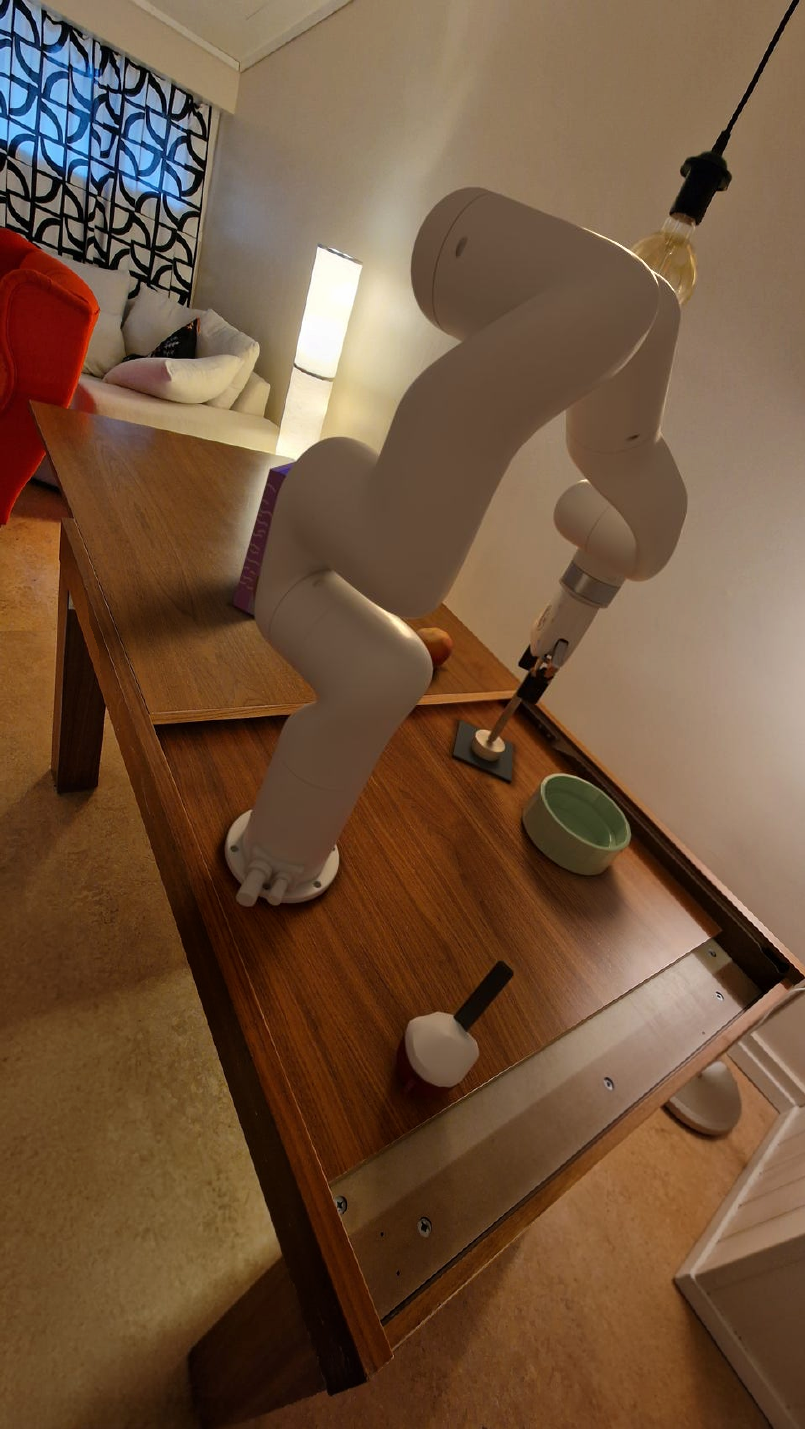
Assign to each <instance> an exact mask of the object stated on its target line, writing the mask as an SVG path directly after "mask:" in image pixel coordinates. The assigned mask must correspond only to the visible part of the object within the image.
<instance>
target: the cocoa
mask: <svg viewBox="0 0 805 1429" xmlns="http://www.w3.org/2000/svg"><path fill="white" fill-rule="evenodd" d="M514 976H515V972H514V970H513V969H512V968H511V967H510V966H509V965H508V964H506V962H505V961H503V960H498V961H497V962H496V963H495V964H494V965H493V966H492V968H491V969H490V970H489V972H488V973H487V974H486V975H485V977H484V978H483V979H482V980H481V981H480V983H479V984H478V985H477V987H476V988H474V991H473V992H472V993H471V994H470V995H469V997H468V998H467V999H466V1000H465V1001H464V1003H463V1004H462V1005H461V1006H460V1007H459V1009H458V1010H457V1012H455V1014H451V1013H446V1012H441V1011H435V1012H432V1013H430V1014H427V1015H420V1016H416V1017H414V1018H413V1019H411V1020H409V1021H408V1023H407V1027H406V1028H405V1031H404V1032H403V1034H402V1037H401V1039H400V1041H399V1043H398V1046H397V1050H396V1068H397V1071H398V1073H399V1076H400V1078H401V1080H402V1082H403V1083H404V1084H403V1087H402V1088H401V1090H400V1091H399V1095H400V1097H402V1098H405V1096H406V1095H407V1094H408V1093H409V1092H410V1091H411V1092H412V1093H414V1094H416V1095H418V1096H421V1097H423V1098H425V1099H427V1098H439V1097H442V1096H444V1095H446V1094H448V1093H450V1092H451V1091H452V1090H453V1089H454V1088H456V1087H457V1086H458V1085H459V1084H461V1083H462V1082H463V1081H464V1079H465V1078H466V1076H467V1075H468V1073H469V1072H470V1070H471V1069H472V1067H473V1066H474V1065H475V1063H476V1062H477V1060H478V1058H479V1056H480V1049H479V1046H478V1042H477V1041H476V1038H474V1037H473V1036H472V1035H471V1034H470V1033H469V1030H471V1029H472V1027H473V1026H474V1024H475V1023H476V1022H477V1021H478V1020H479V1019H480V1017H481V1016H482V1015H483V1014H484V1012H485V1011H486V1010H487V1009H488V1008H489V1006H490V1005H491V1004H492V1003H493V1001H494V1000H495V999H496V998H497V996H498V995H499V994H500V993H501V992H502V991H503V989H504V988H505V987H506V986H507V985H508V983H509V982H510V981H511V980H512V979H513V977H514Z"/></svg>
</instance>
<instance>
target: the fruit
mask: <svg viewBox="0 0 805 1429" xmlns="http://www.w3.org/2000/svg"><path fill="white" fill-rule="evenodd" d="M414 632H415V633H416V634H417V636H418V637H419V638H420V639H421V640H422V642H423V643H424V645H425V646H426V648H427V650H428V652H429V654H430V657H431V660H432V666H433V670H434V669H436V668H438V667H440V668H441V669H443V667H442V665H444V663H445V662H446V661H448V660H449V658H450V656H451V655H452V652H453V641H452V638H451V636H450V635H449V633H448V632H446V631H444V630H442V629H440V628H438V627H428V628H427V627H426V628H420V629H418V630H417V631H414Z"/></svg>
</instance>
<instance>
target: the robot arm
mask: <svg viewBox="0 0 805 1429" xmlns="http://www.w3.org/2000/svg"><path fill="white" fill-rule="evenodd" d="M410 284H411V287H412V288H411V289H412V292H413V296H414V299H415V301H416V304H417V307H418V308H419V310H420V312H421V313H422V314H423V316H424V317H425V319H427V321H428V322H429V323H431V325H433V326H434V327H435V328H437V329H439V331H441V332H443V333H445V334H446V335H448V336H449V337H453V338H454V339H456V340H458V341H460V343H459V344H457V345H455V346H454V347H453V348H451V349H450V350H448V351H447V352H445V353H444V354H443V355H441V356H440V357H438V358H437V359H436V360H434V361H433V362H432V363H431V364H429V365H428V366H427V367H426V368H425V369H423V371H421V372H420V373H419V375H417V377H415V379H414V380H413V381H412V383H411V384H410V385H409V386H408V387H407V389H406V391H405V392H404V394H403V395H402V397H401V399H400V401H399V403H398V405H397V407H396V410H395V412H394V414H393V416H392V420H391V423H390V426H389V428H388V431H387V434H386V437H385V439H384V442H383V444H382V447H381V450H380V452H379V451H378V450H376V449H375V448H373V447H372V446H370V445H368V444H367V443H365V442H363V441H360V440H358V439H356V438H352V437H348V436H330V437H327V438H323V439H321V440H319V441H317V442H315V443H313V444H312V445H311V446H309V447H308V448H306V450H305V451H304V452H302V453H301V454H300V456H299V457H298V458H297V459H296V460H295V461H294V462H295V463H294V464H293V466H292V467H291V469H290V470H289V472H288V473H287V475H286V477H285V479H284V481H283V483H282V485H281V488H280V491H279V493H278V496H277V500H276V504H275V508H274V512H273V516H272V520H271V525H270V530H269V534H268V539H267V543H266V548H265V553H264V557H263V562H262V567H261V571H260V576H259V581H258V586H257V591H256V597H255V606H254V613H255V617H254V620H255V621H254V622H255V624H256V627H257V629H258V632H259V633H260V635H261V636H262V638H263V639H264V640H265V642H266V643H267V644H268V645H269V646H270V647H271V648H272V649H273V650H274V651H275V653H277V654H278V655H279V657H281V658H282V659H283V660H284V661H285V662H286V663H287V664H288V665H289V666H290V667H291V668H292V669H293V670H294V671H295V672H297V673H298V674H299V675H300V677H301V678H302V680H304V682H305V683H307V684H308V685H309V686H310V688H311V689H312V690H313V692H314V693H315V696H316V700H314V701H311V702H307V703H306V704H303V705H302V706H300V707H298V708H296V709H295V710H294V711H293V712H292V713H291V714H290V715H289V716H288V717H287V719H286V721H285V722H284V725H283V727H282V729H281V731H280V734H279V736H278V740H277V743H276V746H275V749H274V751H273V753H272V756H271V760H270V762H269V764H268V768H267V770H266V773H265V775H264V778H263V781H262V783H261V786H260V789H259V791H258V794H257V796H256V799H255V802H254V804H253V807H252V809H249V810H247V811H246V812H244V813H243V814H241V815H239V816H238V818H236V819H235V820H234V822H233V823H232V825H231V826H230V828H229V830H228V832H227V835H226V838H225V844H224V857H225V860H226V863H227V864H226V865H227V867H228V868H229V870H230V872H231V874H232V876H234V878H235V879H236V880H237V881H238V883H239V884H240V885H241V886H240V888H239V890H238V892H237V893H236V895H235V900H236V902H237V903H238V904H239V905H241V906H243V907H248V908H249V907H253V906H254V905H255V904H256V902H257V900H258V898H259V897H261V898H262V899H265V900H266V901H267V902H268V903H269V905H272V906H279V905H280V904H296V903H303V902H307V901H310V900H313V899H315V898H317V897H318V896H320V895H322V894H323V893H325V891H327V889H329V887H330V885H331V884H332V883H333V881H334V879H335V877H336V875H337V873H338V870H339V866H340V853H339V850H338V846H337V843H338V841H339V838H340V837H341V834H342V832H343V830H344V828H345V827H346V824H347V823H348V821H349V819H350V817H351V815H352V812H353V811H354V808H355V807H356V805H357V803H358V801H359V798H360V797H361V795H362V793H363V791H364V789H365V787H366V785H367V784H368V781H369V779H370V777H371V775H372V773H373V771H374V769H375V767H376V765H377V763H378V761H379V760H380V758H381V756H382V754H383V753H384V750H385V749H386V747H387V745H388V744H389V742H390V741H391V740H392V738H393V736H394V734H395V733H396V732H397V731H398V729H399V728H400V726H402V724H403V722H404V721H405V720H406V719H407V718H408V716H409V715H410V714H411V712H412V711H413V710H414V709H415V708H416V706H417V705H418V704H419V703H420V701H421V700H422V699H423V697H424V695H425V694H426V692H427V690H428V688H429V687H430V685H431V682H432V678H433V673H434V672H433V671H434V669H433V666H432V660H431V657H430V654H429V652H428V650H427V648H426V646H425V645H424V643H423V642H422V640H421V639H420V638H419V637H418V636H417V634H416V633H415V632H416V631H414V629H412V628H411V627H410V626H409V625H408V624H407V623H406V622H405V621H403V620H402V619H406V620H416V619H417V620H418V619H421V618H425V617H427V616H429V615H431V614H432V613H434V612H435V611H436V610H437V609H438V608H439V607H440V606H441V605H442V604H443V602H444V601H445V599H446V598H447V597H448V595H449V593H450V592H451V590H452V588H453V586H454V585H455V582H456V581H457V578H458V577H459V575H460V572H461V570H462V568H463V566H464V564H465V561H466V559H467V557H468V554H469V553H470V550H471V548H472V545H473V544H474V542H475V540H476V536H477V534H478V532H479V530H480V529H481V526H482V523H483V522H484V519H485V517H486V515H487V513H488V510H489V508H490V507H491V506H490V505H491V504H492V501H493V499H494V497H495V495H496V492H497V491H498V488H499V486H500V484H501V482H502V481H503V478H504V476H505V474H506V472H507V471H508V469H509V467H510V465H511V463H512V461H513V460H514V459H515V457H516V456H517V455H518V453H519V452H520V451H521V449H522V448H523V447H524V446H525V445H526V444H527V443H528V442H529V441H530V440H531V439H532V438H533V437H534V436H535V435H536V434H537V433H538V432H539V431H540V430H542V429H543V428H544V427H545V426H546V425H547V424H549V423H550V422H551V421H552V420H553V419H555V418H556V417H557V416H559V415H561V413H563V412H564V411H565V446H566V449H567V453H568V455H569V457H570V459H571V461H572V462H573V464H574V465H575V467H576V468H577V470H578V471H579V472H580V473H581V474H582V476H583V477H584V478H585V479H582V480H579V481H576V482H575V483H573V484H571V485H570V486H568V488H566V489H565V490H564V491H563V493H561V495H560V496H559V498H558V500H557V501H556V503H555V506H554V510H553V524H554V527H555V529H556V531H557V532H558V533H559V535H560V536H561V537H562V538H564V539H565V540H566V541H568V542H569V543H570V544H572V545H574V546H575V547H576V551H575V552H574V554H573V556H572V557H571V559H570V560H569V562H568V563H567V565H566V567H565V568H564V570H563V572H562V574H561V575H560V577H559V578H558V583H559V586H557V589H556V590H555V591H554V593H553V594H552V596H551V597H550V598H549V600H548V602H547V604H546V605H545V606H544V608H543V610H541V612H540V614H539V616H538V617H537V619H536V620H535V622H533V625H532V627H531V629H530V638H529V639H530V642H529V644H528V646H527V648H526V649H525V650H524V652H523V654H522V656H521V657H520V659H519V661H518V662H517V666H518V668H521V669H523V670H525V671H527V673H528V671H529V670H530V669H531V668H533V667H534V669H533V671H532V673H530V672H529V673H528V675H527V674H526V675H527V677H526V678H525V677H524V678H525V680H524V681H523V680H522V681H523V683H522V682H521V683H522V685H521V686H520V685H519V686H520V688H519V689H518V688H517V689H518V691H517V690H516V691H517V697H519V698H521V699H522V700H523V701H526V702H528V703H530V704H532V705H537V704H538V702H539V701H540V699H541V698H542V696H543V695H544V693H545V692H546V690H547V689H548V687H549V686H550V685H551V683H552V681H553V679H554V678H555V677H556V674H557V673H558V672H559V671H560V669H561V668H562V667H564V666H565V665H566V664H567V663H568V662H569V660H570V658H571V657H572V656H573V654H574V652H575V651H576V649H577V648H578V646H579V645H580V644H581V641H582V640H583V638H584V637H585V635H586V633H587V632H588V630H589V628H590V626H591V625H592V623H593V621H594V619H595V617H596V616H597V614H598V612H599V610H600V609H608V608H609V606H610V605H611V603H612V602H613V600H614V599H615V597H616V596H617V595H618V594H619V591H620V590H621V588H622V586H624V584H625V582H626V581H630V582H632V583H633V582H634V583H642V582H646V581H649V580H651V579H653V578H654V577H656V576H657V575H658V574H660V573H661V572H662V571H663V569H665V567H666V566H667V565H668V564H669V562H670V561H671V559H672V557H673V556H674V553H675V552H676V550H677V547H678V545H679V542H680V540H681V537H682V534H683V530H684V528H685V524H686V521H687V517H688V513H689V505H690V503H689V493H688V489H687V485H686V483H685V479H684V477H683V475H682V472H681V470H680V468H679V465H678V463H677V461H676V458H675V457H674V454H673V452H672V450H671V447H670V446H669V444H668V442H667V440H666V439H665V437H664V435H663V434H662V432H661V427H662V423H663V418H664V415H665V414H664V413H665V408H666V404H667V403H666V402H667V397H668V392H669V386H670V382H671V377H672V371H673V367H674V362H675V356H676V350H677V345H678V340H679V334H680V329H681V323H682V322H681V318H682V313H681V312H682V311H681V305H680V300H679V296H678V295H677V292H676V291H675V289H674V288H673V287H672V285H671V284H670V282H668V281H667V280H666V279H665V278H664V277H662V276H661V275H660V274H659V273H657V272H655V271H653V270H652V269H650V267H649V266H648V265H647V263H646V262H644V260H643V259H642V258H640V257H639V256H638V255H636V254H635V253H634V252H632V250H629V249H627V248H626V247H624V246H622V245H621V244H619V243H618V242H616V241H613V240H611V239H609V238H607V237H605V236H603V235H601V234H599V233H596V232H594V231H592V230H590V229H589V228H586V227H583V226H581V225H578V224H576V223H573V222H571V221H569V220H566V219H564V218H561V217H557V216H555V215H552V214H549V213H546V212H544V211H542V210H539V209H537V208H535V207H533V206H530V205H528V204H525V203H523V202H520V201H518V200H515V199H513V198H511V197H508V196H506V195H504V194H502V193H497V192H495V191H492V190H489V189H487V188H484V187H480V186H467V187H462V188H459V189H456V190H454V191H452V192H451V193H449V194H447V195H445V196H444V197H442V198H441V199H440V200H439V201H438V202H437V203H436V204H435V205H434V206H433V207H432V209H430V211H429V213H427V215H426V216H425V218H424V220H423V222H422V223H421V226H420V227H419V229H418V232H417V235H416V238H415V240H414V242H413V248H412V252H411V259H410ZM543 664H545V665H546V666H543V667H542V665H543Z"/></svg>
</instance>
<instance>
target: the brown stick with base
mask: <svg viewBox="0 0 805 1429" xmlns="http://www.w3.org/2000/svg"><path fill="white" fill-rule="evenodd" d="M533 669H534V667H533V668H531V669H530V670H529V671H527V673H526V674H525V676H524V678H523V679H522V681H521V682H520V684H519V686H518V688H517V689H516V691H515V692H514V694H513V696H512V697H511V699H510V700H509V702H508V703H507V705H506V706H505V708H504V710H503V711H502V713H501V715H500V716H499V718H498V719H497V721H496V722H495V724H494V726H493V727H492V729H491V730H487V729H480V730H479V731H477V732H476V734H475V735H474V737H473V738H472V740H471V742H470V745H471V748H472V750H473V751H474V752H475V753H476V754H477V755H478V756H480V757H481V758H483V759H485V760H489V761H495V760H497V759H499V757H500V756H501V754H502V753H503V751H504V749H505V745H504V742H503V741H502V740H503V739H502V738H501V737H500V735H501V733H502V732H503V730H504V729H505V727H506V725H507V724H508V722H509V721H510V719H511V717H512V716H513V714H514V713H515V711H516V710H517V708H518V707H519V705H520V704H521V702H522V700H523V699H521V698H519V697H517V691H518V689H519V688H520V686H521V685H522V683H523V681H524V680H525V678H526V677H527V675H528V673H529V672H530V673H532V671H533Z"/></svg>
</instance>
